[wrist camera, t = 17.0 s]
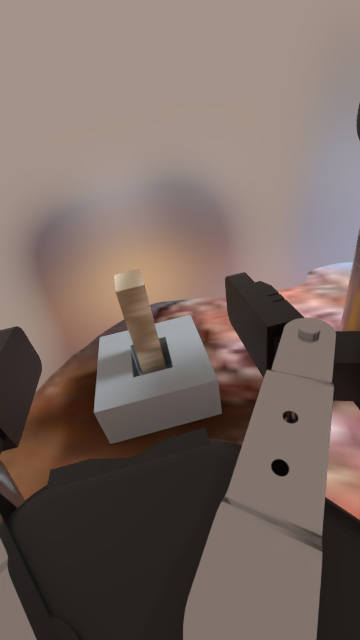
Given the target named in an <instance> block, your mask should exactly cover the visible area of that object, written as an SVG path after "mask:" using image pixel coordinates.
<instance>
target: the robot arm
mask: <svg viewBox="0 0 360 640" xmlns="http://www.w3.org/2000/svg"><path fill="white" fill-rule="evenodd" d="M357 133H358V137H359V140H360V104H359V109H358V115H357ZM225 287H226V300H227V311H228V316H229V320H230V322H231V324H232V326H233V328H234V330H235V331H236V333H237V334H238V336H239V338H240V339H241V341H242V343H243V344H244V346H245V348H246V349H247V351H248V353H249V354H250V356H251V358H252V359H253V361H254V362H255V364H256V366H257V367H258V369H259V371H260V372H261V374H262V376H263V377H264V379H263V382H262V385H261V388H260V392H259V395H258V398H257V401H256V404H255V407H254V410H253V413H252V416H251V420H250V423H249V426H248V429H247V432H246V435H245V438H244V441H243V444H239V443H237V442H233V441H228V440H221V439H209V436H208V433H207V430H206V428H202V429H198V430H195V431H191V432H187V433H184V434H180V435H176V436H173V437H169V438H167V439H165V440H163V441H161V442H160V443H158V444H156V445H154V446H152V447H150V448H148V449H147V450H145V451H143V452H141V453H139V454H137V455H136V456H134V457H131V458H126V459H89V460H85V461H81V462H78V463H74V464H70V465H67V466H63V467H59V468H56V469H52V470H50V476H49V481H48V485H47V486H45V487H43V488H42V489H40V490H39V491H37V492H36V493H34V494H33V495H32V496H31V497H29V498H28V499H27V500H24V498H23V496H22V494H21V493H20V491H19V489H18V487H17V486H16V484H15V482H14V481H13V479H12V477H11V475H10V474H9V472H8V470H7V468H6V467H5V465H4V463H3V462H2V461H1V460H0V640H360V520H359V519H358V518H356V517H355V516H353V515H352V514H350V513H349V512H347V511H346V510H344V509H343V508H341V507H340V506H338V505H337V504H335V503H334V502H332V501H331V500H329V499H327V498H326V497H325V492H326V480H327V467H328V455H329V442H330V430H331V417H332V404H333V401H353V402H354V403H355V404H356V406H357V407H358V408H359V409H360V231H359V235H358V240H357V245H356V250H355V256H354V261H353V266H352V271H351V276H350V281H349V286H348V291H347V296H346V301H345V306H344V311H343V316H342V321H341V326H340V331H335V330H334V329H333V327H332V326H331V325H329V324H328V323H326V322H324V321H321V320H318V319H313V318H304V317H303V316H302V315H301V314H300V313H299V312H298V311H297V310H296V309H295V308H294V307H293V306H292V305H291V304H290V303H289V302H288V301H287V300H285V299H284V297H283V296H282V295H281V294H279V293H278V292H277V291H276V290H275V289H274V288H273V287H272V286H271V285H269V284H266V283H264V282H261V281H259V282H254V281H253V280H252V279H251V278H250V277H249V276H248V275H247V274H246V273H244V272H243V273H240V274H235V275H231V276H227V277H226V278H225ZM41 372H42V364H41V360H40V358H39V356H38V354H37V352H36V351H35V349H34V348H33V346H32V344H31V343H30V341H29V340H28V338H27V336H26V335H25V333H24V331H23V330H22V329H21V328H20V327H13V328H8V329H4V330H0V454H1V451H5V450H9V449H12V448H16V447H18V445H19V442H20V439H21V436H22V432H23V429H24V426H25V423H26V420H27V417H28V413H29V410H30V407H31V404H32V401H33V397H34V394H35V391H36V388H37V385H38V381H39V378H40V375H41Z"/></svg>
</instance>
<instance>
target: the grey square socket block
mask: <svg viewBox="0 0 360 640" xmlns="http://www.w3.org/2000/svg"><path fill="white" fill-rule="evenodd" d="M155 327H156V331H157V335H158V339H159V342H160V346H161V350H162V354H163V358H164V361H165V365H166V369H164V370H160V371H156V372H153V373H149V374H145V375H143V373H142V370H141V367H140V364H139V361H138V358H137V355H136V352H135V349H134V346H133V343H132V340H131V337H130V334H129V331H124V332H120V333H116V334H112V335H107V336H103V337H100V341H99V354H98V366H97V379H96V391H95V404H94V414H95V416H96V418H97V420H98V422H99V424H100V425H101V427H102V429H103V431H104V433H105V435H106V437H107V439H108V441H109V442H110V444H113V443H116V442H120V441H124V440H127V439H131V438H135V437H138V436H142V435H146V434H149V433H153V432H157V431H160V430H164V429H168V428H171V427H175V426H179V425H182V424H186V423H190V422H193V421H197V420H201V419H204V418H208V417H212V416H215V415H219V414H222V408H221V400H220V392H219V384H218V379H217V376H216V374H215V372H214V369H213V367H212V365H211V362H210V360H209V358H208V355H207V353H206V351H205V348H204V346H203V344H202V341H201V339H200V336H199V334H198V332H197V329H196V327H195V325H194V322H193V320H192V318H191V315H189V316H185V317H181V318H177V319H172V320H168V321H164V322H160V323H156V324H155Z"/></svg>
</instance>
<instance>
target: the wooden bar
mask: <svg viewBox="0 0 360 640" xmlns="http://www.w3.org/2000/svg"><path fill="white" fill-rule="evenodd" d="M114 280H115V290H116V294H117V297H118V301H119V303H120V307H121V310H122V313H123V315H124V319H125V322H126V325H127V328H128V331H129V334H130V337H131V340H132V343H133V346H134V349H135V352H136V355H137V358H138V361H139V364H140V367H141V370H142V373H143V375H145V374H149V373H153V372H156V371H160V370H164V369H166V365H165V361H164V358H163V354H162V350H161V346H160V342H159V339H158V335H157V331H156V327H155V323H154V320H153V316H152V312H151V308H150V304H149V301H148V297H147V293H146V289H145V285H144V282H143V279H142V276H141V272H140V269H137V270H133V271H129V272H125V273H122V274H117V275H114Z"/></svg>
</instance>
